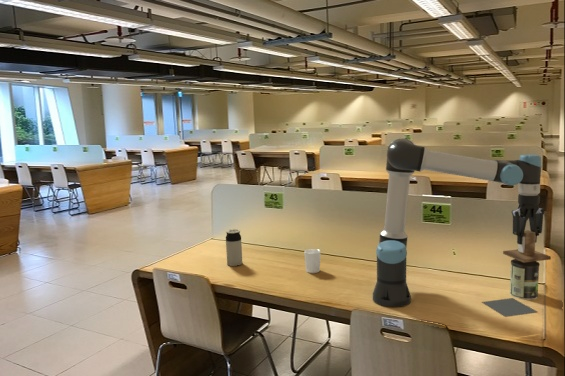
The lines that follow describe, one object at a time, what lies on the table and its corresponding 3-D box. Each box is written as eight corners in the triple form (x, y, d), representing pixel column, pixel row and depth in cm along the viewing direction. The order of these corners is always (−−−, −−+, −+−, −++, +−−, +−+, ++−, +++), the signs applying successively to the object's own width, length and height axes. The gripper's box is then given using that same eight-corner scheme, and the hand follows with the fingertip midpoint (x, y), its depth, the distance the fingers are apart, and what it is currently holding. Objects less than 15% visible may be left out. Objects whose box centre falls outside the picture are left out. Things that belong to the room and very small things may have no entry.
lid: (523, 262, 179) (524, 236, 177) (503, 253, 191) (504, 229, 189) (550, 259, 181) (551, 234, 180) (528, 251, 193) (529, 227, 191)
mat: (505, 317, 169) (505, 316, 169) (481, 303, 183) (481, 302, 183) (538, 313, 172) (538, 312, 172) (512, 298, 185) (512, 298, 185)
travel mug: (245, 262, 244) (243, 229, 241) (236, 267, 237) (234, 233, 234) (233, 260, 248) (231, 228, 245) (224, 265, 241) (222, 231, 239)
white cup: (302, 272, 225) (302, 253, 224) (307, 267, 232) (307, 248, 231) (318, 274, 222) (317, 254, 221) (323, 269, 229) (322, 249, 228)
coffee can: (538, 293, 190) (540, 260, 188) (537, 302, 181) (538, 267, 179) (510, 289, 195) (512, 257, 193) (507, 297, 187) (509, 264, 185)
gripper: (516, 197, 177) (514, 256, 180) (555, 193, 180) (551, 251, 184) (503, 193, 184) (501, 250, 188) (540, 190, 187) (538, 246, 191)
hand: (526, 251), depth 186 cm, fingers closed on lid, 4 cm apart
